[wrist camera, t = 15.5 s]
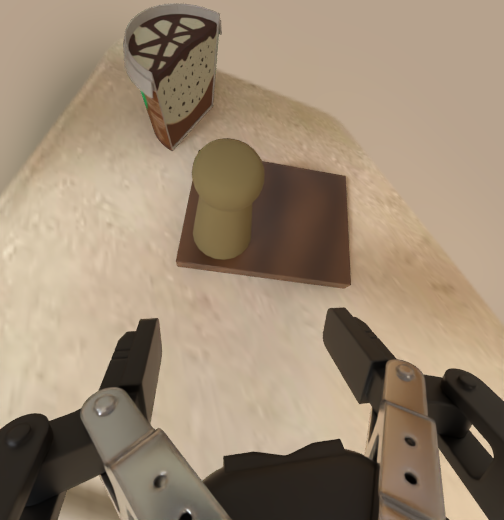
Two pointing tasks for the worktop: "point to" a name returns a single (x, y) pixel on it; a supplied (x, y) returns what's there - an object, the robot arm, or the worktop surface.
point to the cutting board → (286, 230)
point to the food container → (173, 65)
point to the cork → (225, 196)
